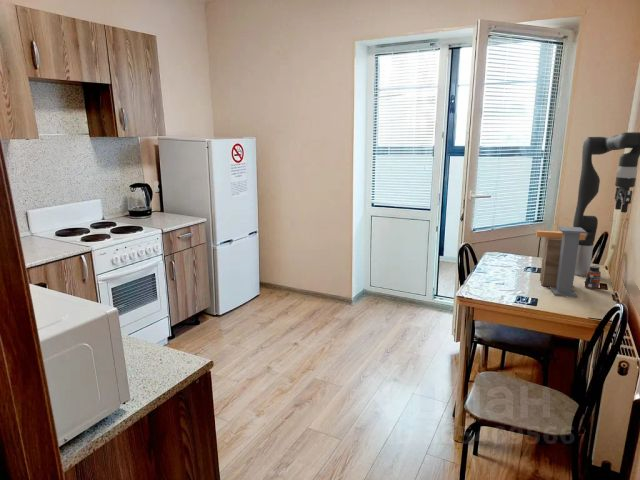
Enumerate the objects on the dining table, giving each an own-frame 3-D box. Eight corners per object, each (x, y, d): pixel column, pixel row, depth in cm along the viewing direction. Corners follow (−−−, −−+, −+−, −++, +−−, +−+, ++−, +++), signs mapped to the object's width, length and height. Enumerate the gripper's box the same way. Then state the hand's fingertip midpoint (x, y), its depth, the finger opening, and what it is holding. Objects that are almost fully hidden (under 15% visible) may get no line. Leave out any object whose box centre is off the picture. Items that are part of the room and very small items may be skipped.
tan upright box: (539, 280, 231) (545, 235, 225) (564, 282, 227) (570, 236, 221) (542, 286, 221) (548, 239, 216) (568, 288, 218) (575, 240, 212)
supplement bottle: (591, 290, 215) (595, 268, 212) (581, 286, 220) (584, 265, 218) (601, 289, 216) (604, 267, 214) (591, 285, 222) (594, 264, 219)
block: (535, 235, 223) (536, 230, 223) (583, 238, 216) (584, 233, 216) (536, 237, 221) (537, 231, 220) (585, 240, 214) (585, 234, 213)
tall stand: (550, 288, 218) (557, 226, 210) (572, 290, 215) (581, 227, 207) (554, 295, 209) (562, 230, 201) (577, 297, 205) (586, 231, 198)
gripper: (612, 175, 206) (607, 208, 210) (621, 177, 193) (616, 213, 197) (630, 175, 204) (624, 208, 207) (641, 178, 190) (635, 213, 194)
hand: (620, 210), depth 202 cm, fingers open, 8 cm apart
